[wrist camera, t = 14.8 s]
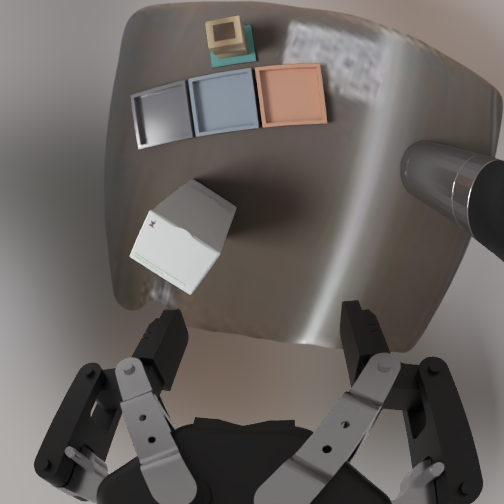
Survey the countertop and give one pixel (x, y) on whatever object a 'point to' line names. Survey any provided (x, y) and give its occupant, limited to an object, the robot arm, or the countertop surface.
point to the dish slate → (223, 102)
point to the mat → (238, 59)
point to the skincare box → (184, 235)
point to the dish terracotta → (291, 94)
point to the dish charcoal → (163, 114)
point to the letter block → (226, 37)
